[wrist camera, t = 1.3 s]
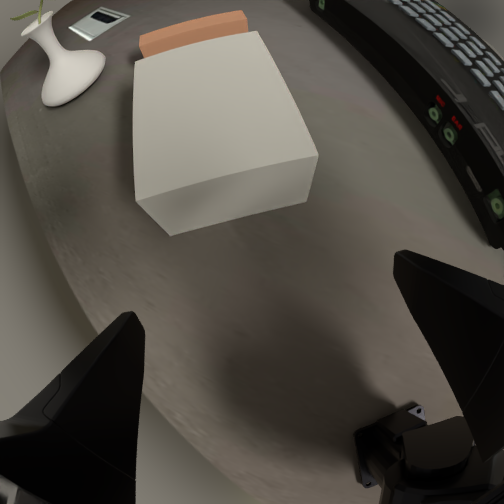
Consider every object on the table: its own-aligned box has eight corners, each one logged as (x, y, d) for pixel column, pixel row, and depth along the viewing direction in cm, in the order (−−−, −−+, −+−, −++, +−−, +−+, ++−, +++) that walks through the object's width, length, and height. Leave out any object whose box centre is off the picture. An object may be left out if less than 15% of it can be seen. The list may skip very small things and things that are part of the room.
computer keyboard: (565, 194, 24) (588, 178, 17) (491, 258, 23) (532, 239, 16) (421, 12, 35) (428, -11, 29) (307, 9, 34) (309, -22, 28)
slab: (306, 203, 25) (318, 155, 17) (171, 236, 25) (135, 201, 17) (259, 82, 29) (256, 30, 22) (157, 108, 29) (135, 61, 22)
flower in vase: (51, 125, 30) (-45, 9, 6) (45, 91, 33) (-25, -5, 9) (128, 71, 31) (61, -70, 7) (110, 46, 34) (57, -64, 10)
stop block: (249, 49, 30) (246, 19, 26) (151, 74, 30) (139, 46, 26) (244, 38, 31) (241, 10, 26) (150, 62, 31) (140, 35, 26)
